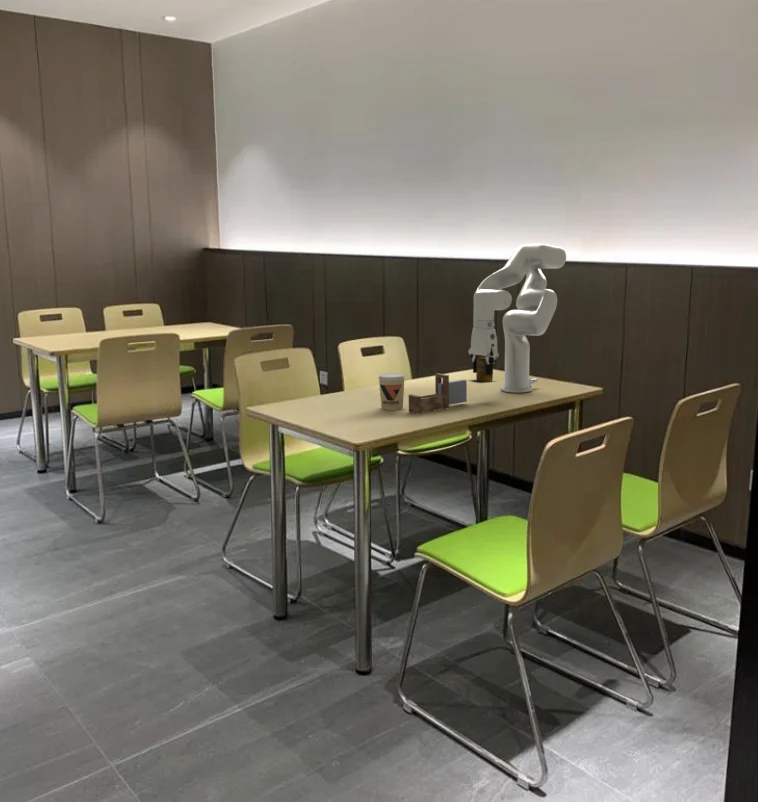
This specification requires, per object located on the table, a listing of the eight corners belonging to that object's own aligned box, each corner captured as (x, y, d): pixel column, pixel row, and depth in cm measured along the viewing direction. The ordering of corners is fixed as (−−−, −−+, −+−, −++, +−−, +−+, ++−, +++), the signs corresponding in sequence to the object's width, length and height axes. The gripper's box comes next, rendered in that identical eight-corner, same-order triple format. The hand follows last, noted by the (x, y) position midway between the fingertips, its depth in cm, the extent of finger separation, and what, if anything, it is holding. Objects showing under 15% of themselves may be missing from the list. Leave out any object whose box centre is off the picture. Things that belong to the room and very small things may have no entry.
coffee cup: (377, 410, 280) (376, 377, 278) (381, 405, 289) (380, 372, 287) (403, 411, 279) (403, 377, 276) (406, 405, 288) (406, 373, 285)
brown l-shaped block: (439, 405, 286) (438, 373, 283) (448, 408, 281) (448, 375, 279) (408, 411, 278) (407, 377, 275) (417, 414, 273) (417, 379, 271)
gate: (463, 400, 289) (463, 379, 288) (466, 401, 288) (466, 380, 287) (438, 405, 283) (438, 383, 281) (441, 406, 281) (440, 384, 280)
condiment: (497, 381, 291) (498, 349, 289) (480, 384, 287) (480, 351, 285) (484, 379, 297) (485, 347, 295) (467, 381, 293) (467, 349, 291)
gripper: (507, 326, 283) (506, 375, 287) (475, 322, 297) (474, 370, 301) (492, 327, 279) (491, 377, 282) (460, 323, 293) (459, 371, 296)
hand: (482, 373), depth 291 cm, fingers closed on condiment, 6 cm apart
